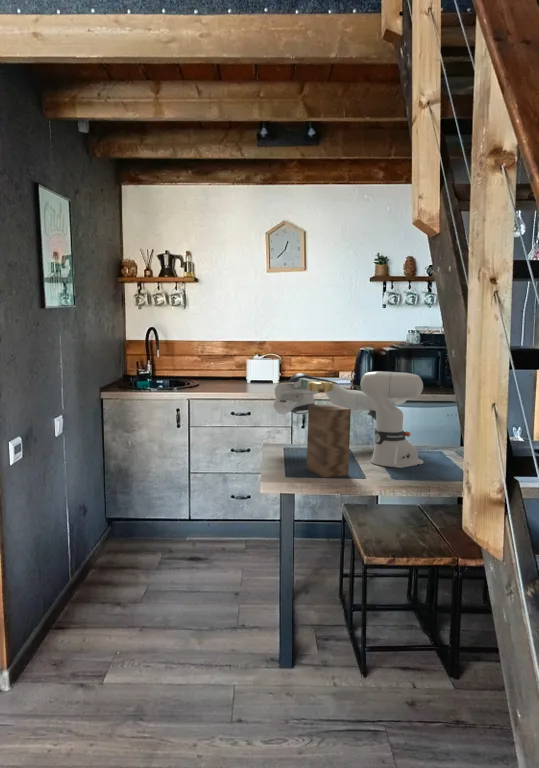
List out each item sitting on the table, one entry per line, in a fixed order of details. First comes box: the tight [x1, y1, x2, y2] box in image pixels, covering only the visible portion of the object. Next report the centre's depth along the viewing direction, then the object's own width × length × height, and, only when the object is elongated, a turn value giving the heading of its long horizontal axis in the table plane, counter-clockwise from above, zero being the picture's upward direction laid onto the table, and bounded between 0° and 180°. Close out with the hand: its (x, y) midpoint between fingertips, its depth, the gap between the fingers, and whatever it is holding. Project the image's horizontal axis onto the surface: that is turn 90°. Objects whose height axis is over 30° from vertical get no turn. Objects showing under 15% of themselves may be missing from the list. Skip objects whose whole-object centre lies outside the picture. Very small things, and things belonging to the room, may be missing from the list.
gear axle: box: [299, 378, 333, 393], centre depth 232 cm, size 10×21×3 cm, turn 24°
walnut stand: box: [306, 403, 352, 479], centre depth 223 cm, size 11×14×26 cm
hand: (306, 381), depth 238 cm, fingers closed on gear axle, 3 cm apart
